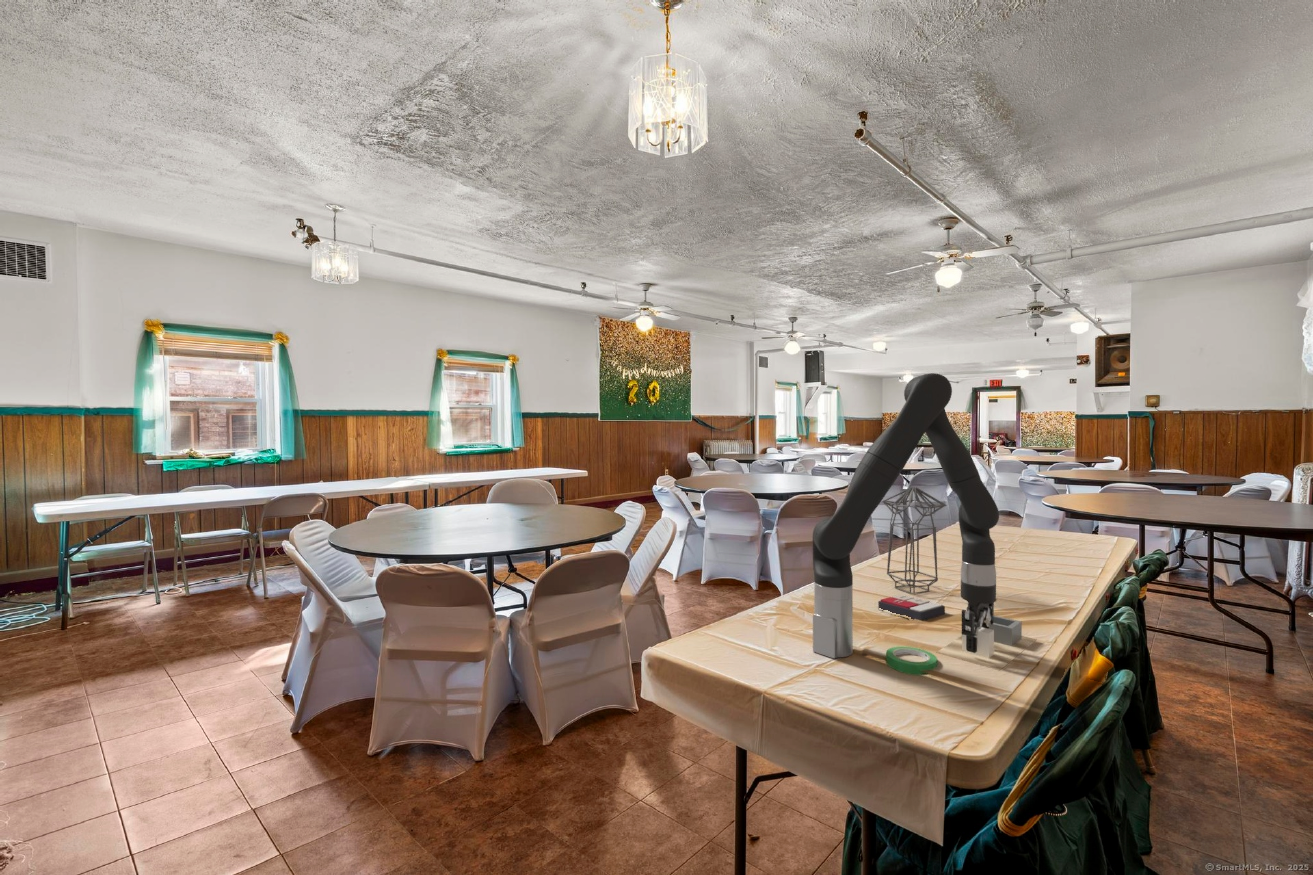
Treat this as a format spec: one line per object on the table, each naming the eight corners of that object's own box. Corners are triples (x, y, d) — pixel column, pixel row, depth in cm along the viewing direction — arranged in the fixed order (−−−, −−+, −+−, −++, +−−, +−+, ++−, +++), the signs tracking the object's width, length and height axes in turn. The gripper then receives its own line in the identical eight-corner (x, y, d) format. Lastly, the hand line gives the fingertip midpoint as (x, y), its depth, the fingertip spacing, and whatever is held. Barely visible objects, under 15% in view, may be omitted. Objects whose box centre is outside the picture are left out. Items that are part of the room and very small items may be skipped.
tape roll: (894, 652, 145) (894, 642, 145) (942, 664, 138) (942, 653, 138) (879, 667, 137) (879, 656, 136) (929, 680, 130) (929, 669, 129)
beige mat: (999, 674, 131) (999, 670, 131) (936, 656, 142) (936, 652, 142) (1036, 643, 149) (1036, 639, 149) (978, 628, 160) (978, 625, 160)
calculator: (900, 592, 182) (945, 603, 169) (901, 606, 182) (946, 618, 169) (877, 598, 177) (921, 610, 164) (878, 612, 177) (922, 625, 164)
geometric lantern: (877, 585, 202) (878, 485, 201) (914, 582, 206) (915, 484, 206) (910, 598, 187) (911, 490, 186) (949, 594, 191) (950, 488, 191)
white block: (988, 658, 138) (989, 633, 138) (960, 650, 143) (961, 626, 142) (993, 654, 140) (993, 630, 140) (966, 647, 145) (966, 623, 144)
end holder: (1011, 646, 145) (1011, 628, 145) (967, 635, 153) (967, 618, 152) (1021, 638, 150) (1021, 621, 150) (978, 628, 157) (978, 611, 157)
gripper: (983, 589, 133) (983, 660, 134) (1005, 577, 142) (1005, 643, 143) (949, 583, 139) (949, 651, 139) (973, 572, 148) (972, 635, 149)
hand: (977, 647), depth 141 cm, fingers open, 7 cm apart
